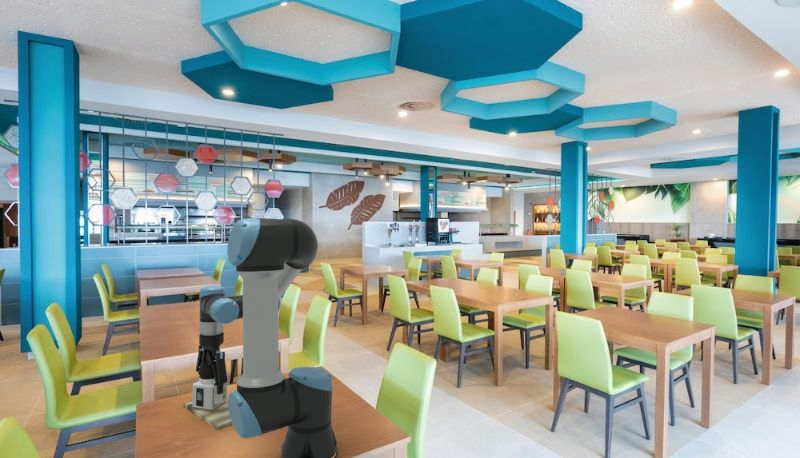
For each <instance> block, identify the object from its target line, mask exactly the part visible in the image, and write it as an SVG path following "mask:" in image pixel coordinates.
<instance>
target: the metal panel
mask: <svg viewBox="0 0 800 458" xmlns="http://www.w3.org/2000/svg"><path fill="white" fill-rule="evenodd" d="M182 403H183V407H184V408H186V409H187V410H188V411H190V412H191V413H193V414H194V415H196V416H197V417H198V418H199V419H201V420H203V421H204V422H206V423H207V424H209V425H210V426H211V427H212V428H214V429H216V430H217V431H218V430H221V429H223V428H226V427H229V426H231V425H232V426H233V423H232V421H231V417H230V413H229V407H228V401H227V400H226V401H225V402H223V403H222V404H220V405H219V406H217V407H216V408H214V409H213V410H210V409H203V408H196V407H192V399H190V400H187V401H184V402H183V401H182Z"/></svg>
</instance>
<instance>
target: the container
mask: <svg viewBox="0 0 800 458" xmlns="http://www.w3.org/2000/svg"><path fill="white" fill-rule="evenodd" d="M198 377H199V378H198V381H196V382H194V383H193V384H192V398H191V400H192V407H196V408H203V409H210V410H213V409H214V408H216V407H217V406H219V405H220V404H222V403H223V402H225V401H226V402H227V401H228V399H227V397H228V393H227V392H228V381H227V382H226V383H223V402H221V403H218V404H214V384H215V383H216V382H215V378H214V374H213V369H212V365H210V364H206V365H204V366H202V367H201V368H200V375H198ZM199 380H200V381H199Z"/></svg>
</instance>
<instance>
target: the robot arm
mask: <svg viewBox="0 0 800 458" xmlns="http://www.w3.org/2000/svg"><path fill="white" fill-rule="evenodd" d="M318 243H319V242H318V237H317V235H316V234H315V232H314V230H313V229H312V228H311V226H309V224H307V223H306V222H303V221H302V220H299V219H296V218H295V219H293V218H285V219H284V218H266V217H265V218H263V217H262V218H260V217H251V218H242V219H241V218H240V219H239V220H237V221H236V222H235V223H234V224H233V226H232V228H231V230H230V232H229V236H228V241H227V249H226V251H227V253H226V254H227V256H228V257H227V258H228V259H227V260H228V262H229V264H230V265H232V266H234V267H235V271H236V273H237V275H239V276H240V277H241V279H242V294H241V295H240V294H239V295H230V296H226V290H225V287H224V286H221V285H208V286H202V287H201V288H200V290H199V322H198V323H199V324H198V327H199V330H198V332H199V336H198V337H199V339H198V340H199V341H198V342H199V343H198V344H199V345H198V353H197V359H196V364H195V365H196V367H195V372H197V374H198V376H200V368H201V367H202V366H204V365H206V364H210V365H212V369H213V374H214V378H215V382H216V383H215V384H214V404H218V403H221V402H223V383H226V382H227V383H228V373H227V366H226V352H225V351H221V348H220V346H221V345H223V344H224V342H225V332H224V330H225V324H226V325H227V324H230V323H232V322H234V321H235V320H240V319H242V359H243V360H242V362H243V363H242V364H243V365H242V368H243V370H242V371H243V372H242V374H241V376H240V377H238V379H237V380H236V389H235V390H232V391H231V392H229V394H228V399H227V403H228V407H229V413H230V417H231V421H232V423H233V424H232V426H233V429H234V430H235V431H236V433H237V435H238V436H239V437H240V438H242V439H246V440H247V439H250V438H254V437H261V436H262V435H265V434H268V433H270V432H274V431H277V430H280V429H283V428H286V427H287V430H286V433H285V437H284V441H283V443H282V445H281V447H280V448H281V449H280V458H331V457H333V456H334V455H335V453H336V452H337V453H338V441H337V439H336V435H335V432H334V429H333V426H332V417H333V416H332V415H333V414H332V406H333V390H334V387H333V378H332V375H331V373H330V372H328V371H327V370H325V369H323V368H319V367H315V366H299V367H294V368H291V369H290V370H289V373H288V378H286V376H285V374H284V373H283V372H282V371H281V370H280V367H279V365H280V363H279V358H280V356H279V355H280V353H279V341H280V340H279V339H280V338H279V312H280V310H281V305H282V303H281V301H282V300H281V298H282V296H283V294H285V292H286V291H287V289H288V288H289V287H290V286H291V285H292V283H293V282H294V280H295V279H296V278H297V277H298V276H299V274H300V273H301V272H302V270H305V269H307V268H309V266H310V265H311V264H312V263H313V261H314V260H315V258H316V256H317V253H318V249H319V248H318V247H319V245H318ZM198 381H200V380H199V379H198Z"/></svg>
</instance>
